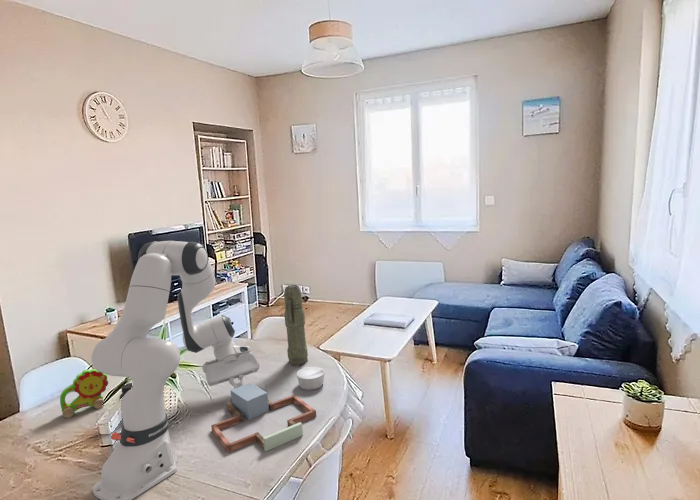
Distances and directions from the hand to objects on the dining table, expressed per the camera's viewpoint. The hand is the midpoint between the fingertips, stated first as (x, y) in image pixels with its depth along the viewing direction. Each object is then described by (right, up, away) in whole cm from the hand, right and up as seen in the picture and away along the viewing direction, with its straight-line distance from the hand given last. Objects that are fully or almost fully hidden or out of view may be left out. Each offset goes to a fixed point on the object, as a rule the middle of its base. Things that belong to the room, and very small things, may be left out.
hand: (239, 388), depth 163 cm
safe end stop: (+21, -8, -28) cm, 36 cm away
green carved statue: (+18, +1, +33) cm, 37 cm away
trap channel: (+11, -6, -15) cm, 20 cm away
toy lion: (-57, -8, 0) cm, 58 cm away
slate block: (+6, -6, -7) cm, 11 cm away
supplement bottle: (-36, -8, -7) cm, 38 cm away
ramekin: (+26, -2, +10) cm, 28 cm away
